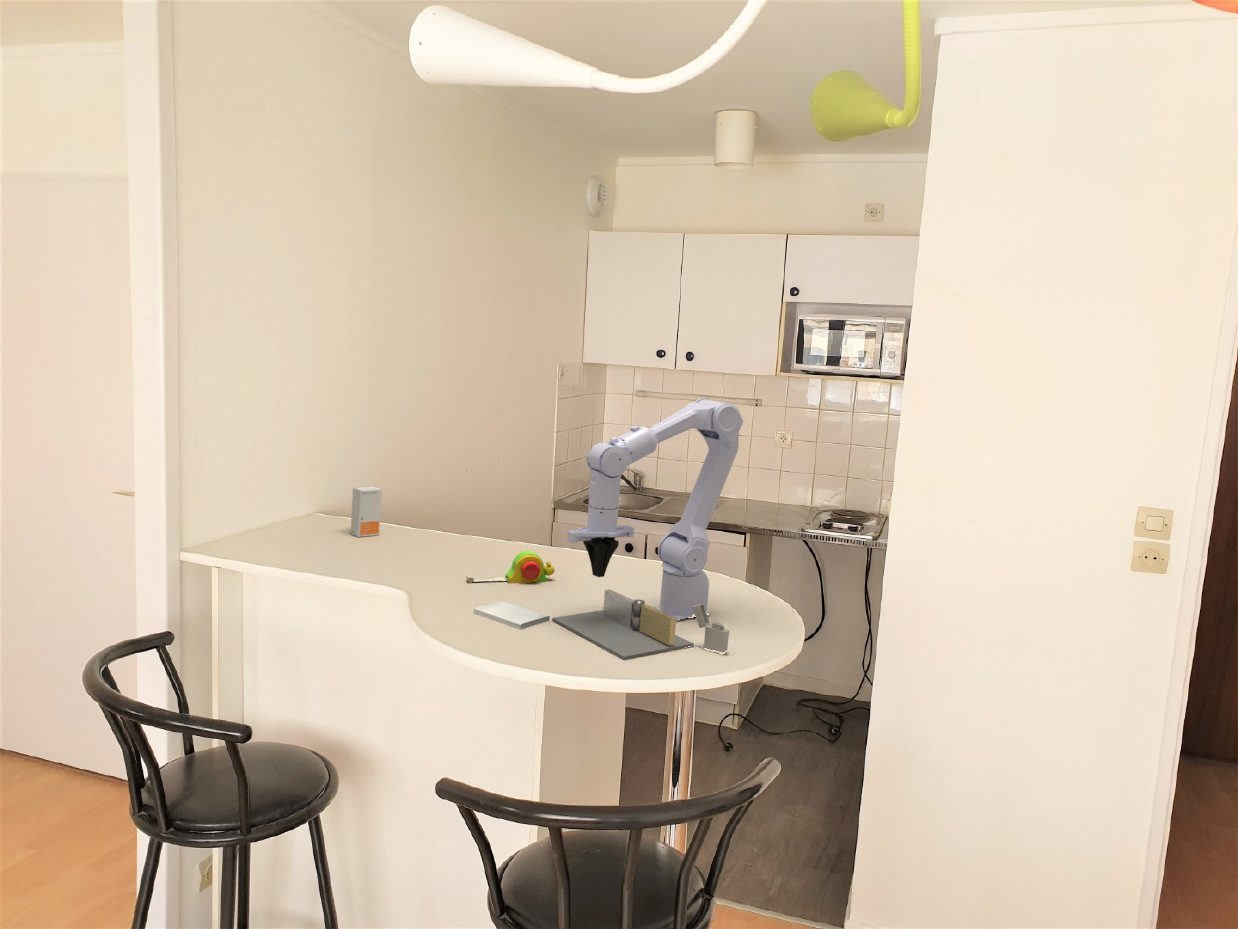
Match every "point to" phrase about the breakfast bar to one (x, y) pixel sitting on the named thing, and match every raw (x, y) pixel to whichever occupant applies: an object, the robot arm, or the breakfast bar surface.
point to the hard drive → (511, 615)
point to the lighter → (711, 630)
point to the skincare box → (366, 511)
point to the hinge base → (617, 629)
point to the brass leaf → (655, 622)
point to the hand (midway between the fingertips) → (598, 575)
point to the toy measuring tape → (524, 570)
